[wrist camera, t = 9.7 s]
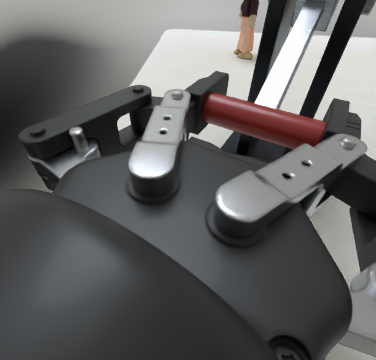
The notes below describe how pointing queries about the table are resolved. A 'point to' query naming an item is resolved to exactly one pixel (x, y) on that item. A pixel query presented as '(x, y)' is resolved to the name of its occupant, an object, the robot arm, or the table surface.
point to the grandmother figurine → (247, 28)
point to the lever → (277, 88)
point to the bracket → (267, 54)
